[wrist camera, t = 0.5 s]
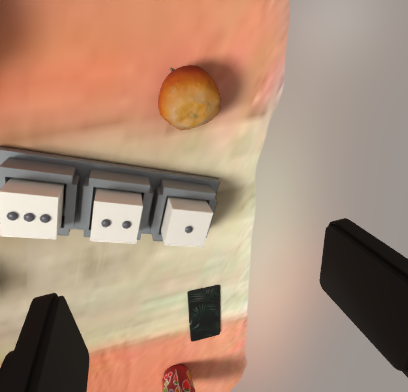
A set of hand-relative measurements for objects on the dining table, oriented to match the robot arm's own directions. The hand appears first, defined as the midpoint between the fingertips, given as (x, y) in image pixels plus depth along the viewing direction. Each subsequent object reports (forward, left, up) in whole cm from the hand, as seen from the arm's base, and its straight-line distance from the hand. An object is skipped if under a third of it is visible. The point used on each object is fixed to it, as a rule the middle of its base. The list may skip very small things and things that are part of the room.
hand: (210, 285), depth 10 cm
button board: (+14, -2, -34) cm, 36 cm away
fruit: (-3, +5, -34) cm, 35 cm away
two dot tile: (+14, -2, -30) cm, 33 cm away
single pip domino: (+14, +8, -30) cm, 34 cm away
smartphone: (+39, +20, -34) cm, 56 cm away
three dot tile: (+14, -12, -30) cm, 35 cm away
